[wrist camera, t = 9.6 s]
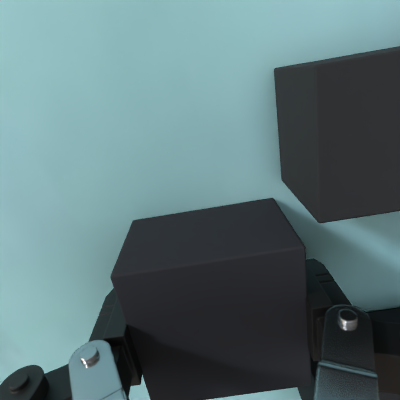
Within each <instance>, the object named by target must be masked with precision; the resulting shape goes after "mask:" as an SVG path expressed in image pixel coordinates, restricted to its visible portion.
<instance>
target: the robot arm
mask: <svg viewBox="0 0 400 400" xmlns="http://www.w3.org/2000/svg"><path fill="white" fill-rule="evenodd" d="M306 274H307V297H305V298H306V319H307V340H308V350H309V352H310V354H311V357H312V359H313V361H318V364H317V372H316V380H315V389H314V398H313V400H379V391H381V392H387V393H393V394H399V396H400V323H393V322H384V321H377V320H373V319H371V318H370V317H369V315H368V314H367V313H366V312H364V311H363V310H361V309H360V308H357V307H355V306H352V305H351V304H350V302H349V301H348V299H347V298H346V296H345V295H344V293H343V292H342V290H341V289H340V288H339V286H338V285H337V283H336V282H335V281H334V279H333V277H332V276H331V275H330V274H329V272H328V270H327V269H326V267H325V266H324V265H323V264H322V263H320V262H319V261H317V260H316V259H314V258H313V259H307V260H306ZM319 360H320V361H319ZM142 372H143V371H142V368H141V365H140V362H139V359H138V356H137V353H136V350H135V347H134V344H133V341H132V338H131V335H130V332H129V329H128V325H127V324H126V323H125V320H124V317H123V314H122V311H121V308H120V305H119V302H118V298H117V295H116V292H115V289H113V290H112V291H111V292H110V293H109V294H108V295H107V296H106V298H105V301H104V303H103V306H102V308H101V311H100V313H99V316H98V319H97V321H96V324H95V326H94V329H93V331H92V334H91V337H90V339H89V342H88V343H86V344H84V345H82V346H81V347H80V348H78V349H77V350H76V351H75V352H74V353H73V355H72V356H71V358H70V360H69V364H67V365H65V366H63V367H60V368H58V369H55V370H53V371H50V372H48V373H46V374H44V372H43V370H42V368H41V367H40V366H37V365H30V366H26V367H23V368H21V369H19V370H17V371H15V372H14V373H12V374H11V375H10V376H8V377H7V378H6V379H5V380H4V381H3V383H2V384H1V385H0V400H130V399H129V397H128V396H129V391H130V386H134V385H140V384H141V378H142Z"/></svg>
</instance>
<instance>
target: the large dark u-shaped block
mask: <svg viewBox="0 0 400 400" xmlns="http://www.w3.org/2000/svg"><path fill="white" fill-rule="evenodd" d="M274 76H275V90H276V105H277V119H278V133H279V148H280V162H281V176H282V181H283V182H284V183H285V184H286V186H287V187H288V188H289V189H290V190H291V191H292V193H293V194H294V195H295V196H296V197H297V198H298V200H299V201H300V202H301V203H302V204H303V205H304V206H305V208H306V209H307V210H308V211H309V212H310V213H311V215H312V216H313V217H314V218H315V219H316V220H317V222H318V223H325V222H331V221H338V220H344V219H351V218H357V217H363V216H370V215H376V214H382V213H389V212H395V211H400V46H399V47H393V48H387V49H382V50H376V51H370V52H365V53H359V54H353V55H348V56H342V57H336V58H331V59H325V60H319V61H314V62H308V63H302V64H297V65H291V66H285V67H280V68H275V69H274ZM367 314H368V315H369V317H370V318H371V319H373V320H377V321H384V322H393V323H400V308H397V309H390V310H383V311H376V312H369V313H367ZM319 361H320V360H319ZM310 364H311V385H308V386H301V387H298V390H299V393H300V396H301V399H302V400H313V398H314V389H315V380H316V372H317V364H318V361H313V359H312V357H311V354H310ZM379 400H400V396H399V394H393V393H387V392H381V391H379Z"/></svg>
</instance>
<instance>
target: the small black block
mask: <svg viewBox="0 0 400 400" xmlns="http://www.w3.org/2000/svg"><path fill="white" fill-rule="evenodd" d="M111 280H112V283H113V286H114V289H115V292H116V295H117V298H118V302H119V305H120V308H121V311H122V314H123V317H124V320H125V323H126V324H127V325H128V329H129V332H130V335H131V338H132V341H133V344H134V347H135V350H136V353H137V356H138V359H139V362H140V365H141V368H142V371H143V372H142V375H143V378H144V381H145V384H146V387H147V390H148V393H149V396H150V399H151V400H206V399H214V398H221V397H228V396H235V395H243V394H250V393H257V392H264V391H272V390H279V389H286V388H293V387H301V386H308V385H311V364H310V352H309V350H308V340H307V319H306V298H305V297H307V274H306V252H305V246H304V244H303V243H302V241H301V240H300V238H299V237H298V235H297V234H296V232H295V231H294V229H293V227H292V226H291V224H290V223H289V221H288V220H287V218H286V217H285V215H284V214H283V212H282V211H281V209H280V208H279V206H278V205H277V203H276V202H275V200H274V199H273V198H270V199H263V200H257V201H251V202H245V203H239V204H233V205H226V206H220V207H214V208H208V209H202V210H195V211H189V212H183V213H177V214H171V215H165V216H158V217H152V218H146V219H140V220H134V221H133V222H132V224H131V227H130V229H129V232H128V234H127V237H126V239H125V242H124V244H123V247H122V249H121V251H120V254H119V256H118V259H117V261H116V264H115V266H114V269H113V271H112V274H111Z"/></svg>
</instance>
